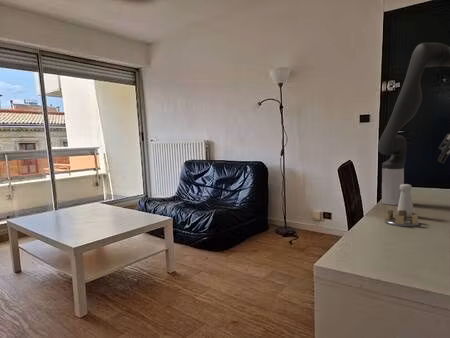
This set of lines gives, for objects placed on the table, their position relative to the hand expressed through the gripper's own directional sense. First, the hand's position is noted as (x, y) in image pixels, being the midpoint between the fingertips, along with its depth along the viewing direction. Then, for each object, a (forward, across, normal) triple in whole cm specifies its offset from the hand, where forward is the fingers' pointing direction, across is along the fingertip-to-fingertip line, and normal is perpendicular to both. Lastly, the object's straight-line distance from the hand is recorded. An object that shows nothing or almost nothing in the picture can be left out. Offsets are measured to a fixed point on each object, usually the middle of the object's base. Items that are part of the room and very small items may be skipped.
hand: (449, 162), depth 109 cm
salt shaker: (+26, +2, -3) cm, 27 cm away
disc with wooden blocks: (+24, +12, +4) cm, 27 cm away
